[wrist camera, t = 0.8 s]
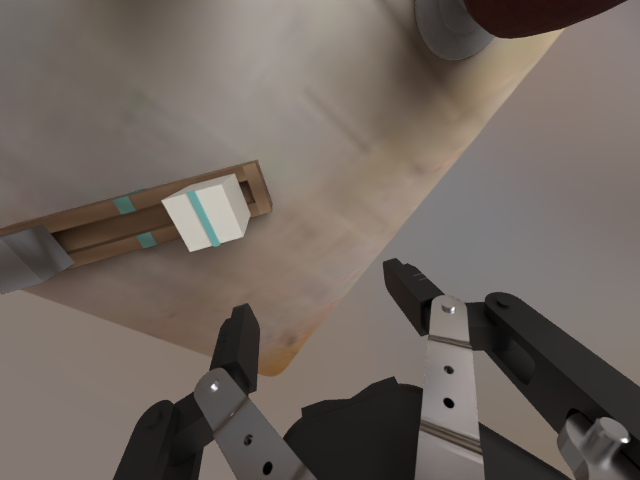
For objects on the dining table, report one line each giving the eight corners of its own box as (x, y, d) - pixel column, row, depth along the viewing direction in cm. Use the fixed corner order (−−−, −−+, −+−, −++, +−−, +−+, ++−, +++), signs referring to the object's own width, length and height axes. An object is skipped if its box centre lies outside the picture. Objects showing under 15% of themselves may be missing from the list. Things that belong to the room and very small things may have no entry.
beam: (13, 223, 27) (-82, 253, 20) (257, 159, 29) (251, 165, 22) (51, 266, 30) (-20, 306, 23) (272, 204, 32) (271, 223, 25)
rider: (195, 181, 27) (159, 199, 18) (237, 170, 27) (220, 183, 19) (214, 221, 29) (189, 254, 21) (252, 210, 29) (243, 238, 21)
